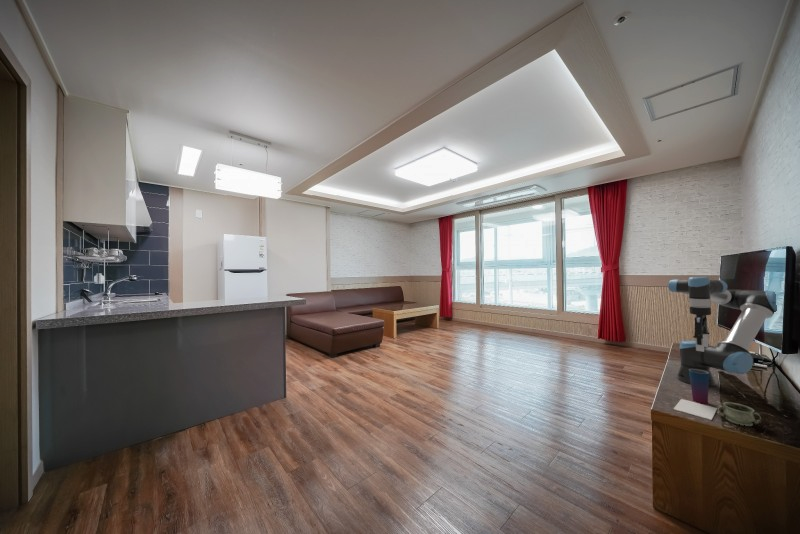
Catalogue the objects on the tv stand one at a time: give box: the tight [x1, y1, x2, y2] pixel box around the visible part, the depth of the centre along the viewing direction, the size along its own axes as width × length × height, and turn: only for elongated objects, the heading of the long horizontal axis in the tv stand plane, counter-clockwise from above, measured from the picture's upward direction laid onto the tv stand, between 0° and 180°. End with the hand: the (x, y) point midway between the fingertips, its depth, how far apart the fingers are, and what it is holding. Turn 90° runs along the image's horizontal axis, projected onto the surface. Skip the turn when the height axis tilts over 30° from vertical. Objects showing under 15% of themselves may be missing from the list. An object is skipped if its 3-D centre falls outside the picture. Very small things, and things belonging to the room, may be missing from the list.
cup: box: [689, 369, 710, 405], centre depth 137 cm, size 7×7×15 cm
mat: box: [673, 398, 718, 421], centre depth 130 cm, size 16×12×1 cm
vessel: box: [717, 401, 762, 427], centre depth 119 cm, size 12×9×6 cm
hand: (702, 348), depth 143 cm, fingers open, 11 cm apart
